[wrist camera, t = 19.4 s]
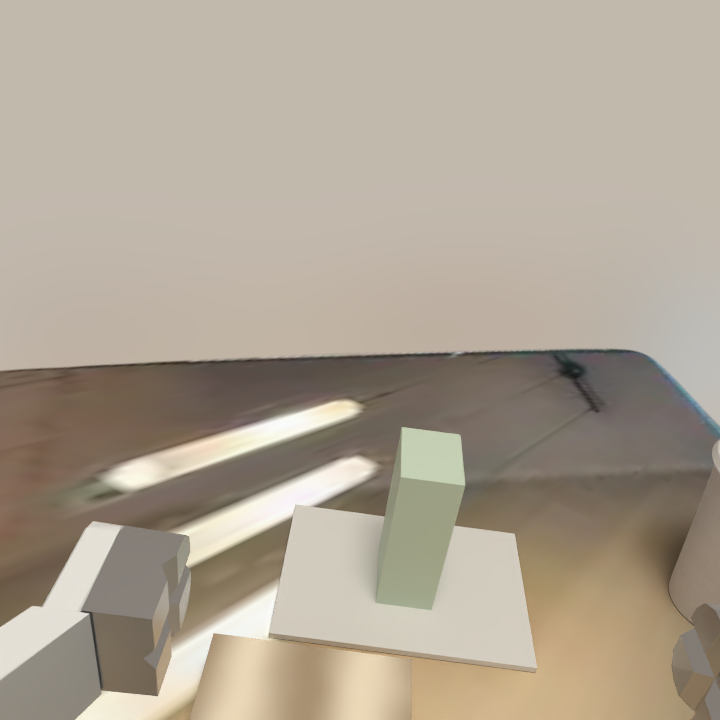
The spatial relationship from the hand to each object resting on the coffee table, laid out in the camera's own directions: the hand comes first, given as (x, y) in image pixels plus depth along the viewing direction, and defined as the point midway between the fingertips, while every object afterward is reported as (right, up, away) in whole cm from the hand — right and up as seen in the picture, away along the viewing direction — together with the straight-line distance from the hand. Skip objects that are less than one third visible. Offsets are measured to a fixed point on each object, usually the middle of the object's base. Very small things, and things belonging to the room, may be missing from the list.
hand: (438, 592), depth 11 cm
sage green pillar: (+2, -12, +40) cm, 42 cm away
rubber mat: (+2, -13, +40) cm, 42 cm away
